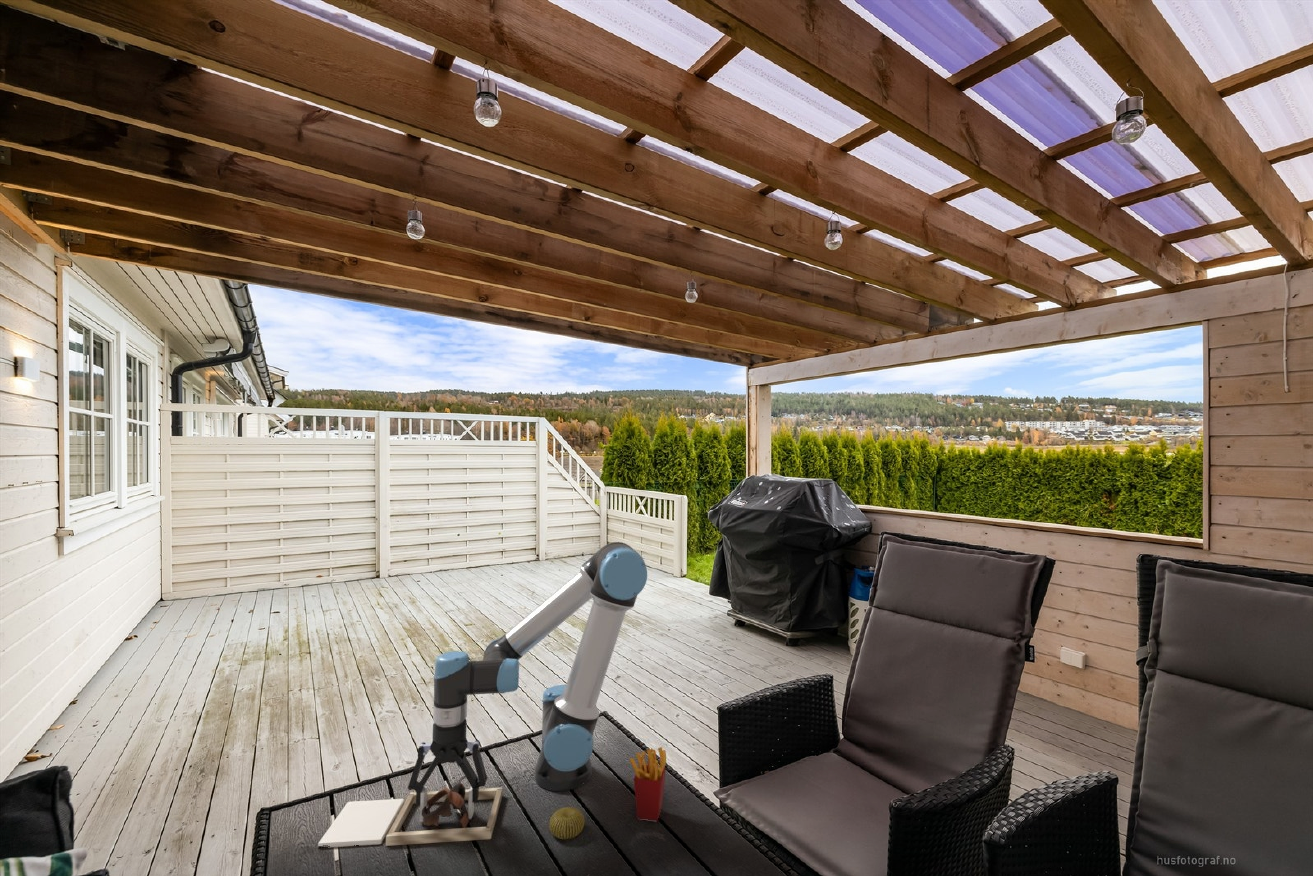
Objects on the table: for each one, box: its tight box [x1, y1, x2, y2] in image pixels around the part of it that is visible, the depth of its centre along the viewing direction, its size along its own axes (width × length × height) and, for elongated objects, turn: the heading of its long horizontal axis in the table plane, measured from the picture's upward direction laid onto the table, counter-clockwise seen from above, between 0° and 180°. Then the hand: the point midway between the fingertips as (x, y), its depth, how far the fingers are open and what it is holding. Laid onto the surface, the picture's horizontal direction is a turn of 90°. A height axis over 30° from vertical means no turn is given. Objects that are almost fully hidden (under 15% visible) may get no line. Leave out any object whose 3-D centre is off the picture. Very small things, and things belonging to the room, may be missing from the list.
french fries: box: [629, 746, 667, 821], centre depth 136 cm, size 9×8×15 cm
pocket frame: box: [385, 786, 504, 847], centre depth 133 cm, size 22×16×2 cm
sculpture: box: [548, 806, 586, 840], centre depth 129 cm, size 8×4×8 cm
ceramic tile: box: [317, 798, 405, 848], centre depth 130 cm, size 13×15×1 cm
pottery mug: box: [422, 783, 470, 828], centre depth 132 cm, size 12×10×8 cm
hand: (447, 817), depth 133 cm, fingers open, 10 cm apart
